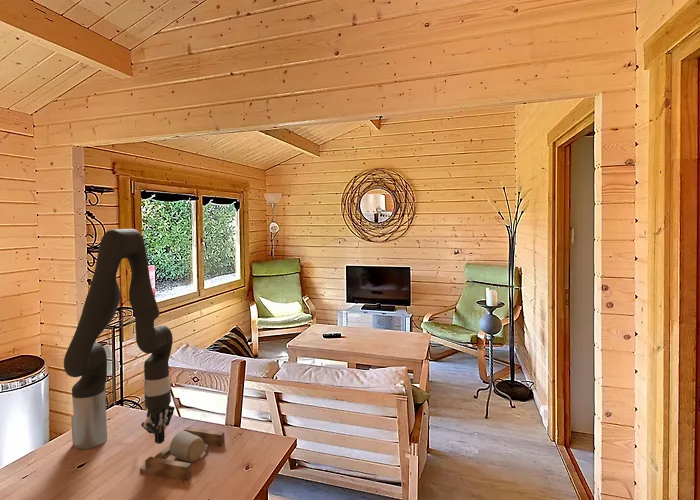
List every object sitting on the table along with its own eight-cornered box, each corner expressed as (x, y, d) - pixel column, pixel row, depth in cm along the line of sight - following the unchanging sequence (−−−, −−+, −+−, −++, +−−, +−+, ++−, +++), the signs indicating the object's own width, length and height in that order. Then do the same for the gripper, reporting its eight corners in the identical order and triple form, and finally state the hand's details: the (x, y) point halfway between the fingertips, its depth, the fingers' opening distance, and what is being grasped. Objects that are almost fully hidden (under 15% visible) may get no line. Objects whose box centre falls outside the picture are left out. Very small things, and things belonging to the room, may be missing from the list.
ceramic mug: (188, 467, 124) (188, 443, 124) (169, 461, 128) (168, 437, 127) (214, 450, 134) (213, 427, 133) (195, 444, 137) (195, 422, 137)
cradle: (139, 472, 122) (139, 459, 122) (182, 437, 141) (182, 426, 141) (187, 480, 118) (186, 467, 118) (224, 443, 137) (224, 432, 137)
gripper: (161, 380, 137) (163, 430, 139) (131, 397, 125) (134, 452, 126) (181, 382, 136) (183, 433, 137) (152, 400, 123) (155, 455, 124)
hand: (159, 442), depth 132 cm, fingers closed
